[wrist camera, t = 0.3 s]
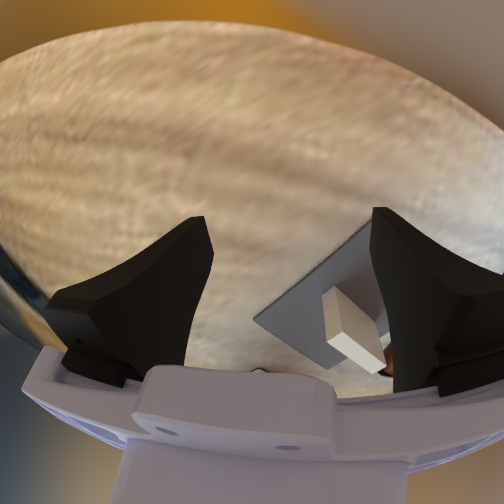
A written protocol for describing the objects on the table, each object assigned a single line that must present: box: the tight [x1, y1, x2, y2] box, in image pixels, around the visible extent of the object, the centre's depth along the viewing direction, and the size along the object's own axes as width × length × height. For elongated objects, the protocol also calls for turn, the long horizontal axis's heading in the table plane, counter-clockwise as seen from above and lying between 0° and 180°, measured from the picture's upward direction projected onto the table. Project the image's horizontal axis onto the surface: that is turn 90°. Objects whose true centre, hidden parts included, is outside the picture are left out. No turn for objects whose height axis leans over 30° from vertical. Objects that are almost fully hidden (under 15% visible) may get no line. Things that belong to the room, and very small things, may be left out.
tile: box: [322, 286, 387, 374], centre depth 23 cm, size 2×7×6 cm, turn 50°
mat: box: [253, 219, 390, 369], centre depth 26 cm, size 16×12×1 cm
